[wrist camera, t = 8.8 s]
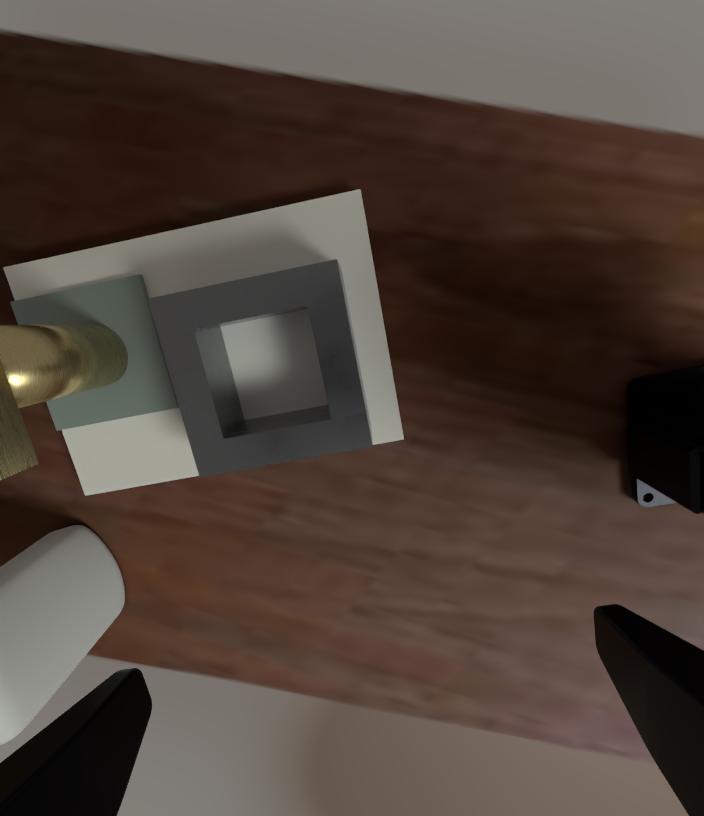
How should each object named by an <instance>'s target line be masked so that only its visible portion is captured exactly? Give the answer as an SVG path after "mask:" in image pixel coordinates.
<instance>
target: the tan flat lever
mask: <svg viewBox="0 0 704 816" xmlns="http://www.w3.org/2000/svg"><path fill="white" fill-rule="evenodd" d="M127 364H128V353H127V349H126V347H125V344H124V342H123V341H122V339H121V338H120V337H119V336H118V334H116V333H115V332H114V331H113V330H111V329H110V328H108V327H106V326H103V325H100V324H47V325H0V480H2V479H5V478H7V477H9V476H11V475H14V474H16V473H18V472H21V471H23V470H25V469H27V468H30V467H32V466H34V465H36V464H39V462H38V459H37V457H36V454H35V451H34V449H33V446H32V443H31V441H30V438H29V435H28V432H27V430H26V427H25V424H24V422H23V419H22V416H21V414H20V411H19V408H21V407H25V406H29V405H33V404H37V403H41V402H45V401H49V400H53V399H57V398H61V397H64V396H68V395H72V394H76V393H80V392H84V391H88V390H92V389H96V388H100V387H104V386H108V385H111V384H113V383H115V382H117V381H118V380H119V379H120V378H121V377H122V376H123V375H124V373H125V371H126V368H127Z"/></svg>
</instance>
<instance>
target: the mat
mask: <svg viewBox="0 0 704 816" xmlns="http://www.w3.org/2000/svg"><path fill="white" fill-rule="evenodd" d="M148 298H149V296H148V292H147V289H146V285H145V282H144V279H143V275H140V274H138V275H134V276H129V277H124V278H119V279H115V280H110V281H105V282H101V283H96V284H91V285H87V286H82V287H77V288H73V289H68V290H63V291H58V292H54V293H49V294H44V295H40V296H35V297H30V298H26V299H21V300H16V301H12V302H10V304H11V306H12V309H13V312H14V315H15V317H16V320H17V323H18V325H47V324H100V325H103V326H106V327H108V328H110V329H111V330H113V331H114V332H115V333H116V334H118V336H119V337H120V338H121V339H122V341H123V342H124V344H125V347H126V349H127V353H128V364H127V368H126V371H125V373H124V375H123V376H122V377H121V378H120V379H119V380H118V381H117V382H115V383H113V384H111V385H108V386H104V387H100V388H96V389H92V390H88V391H84V392H80V393H76V394H72V395H68V396H64V397H61V398H57V399H53V400H49V401H46V403H47V405H48V408H49V411H50V414H51V416H52V419H53V422H54V425H55V427H56V430H57V431H58V430H63V429H69V428H74V427H79V426H85V425H90V424H95V423H100V422H106V421H111V420H116V419H122V418H127V417H132V416H137V415H143V414H148V413H153V412H159V411H164V410H169V409H174V408H179V405H178V402H177V398H176V395H175V392H174V388H173V385H172V381H171V378H170V374H169V371H168V368H167V364H166V361H165V357H164V354H163V351H162V347H161V344H160V340H159V337H158V333H157V330H156V327H155V323H154V320H153V316H152V313H151V309H150V306H149V303H148Z"/></svg>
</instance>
